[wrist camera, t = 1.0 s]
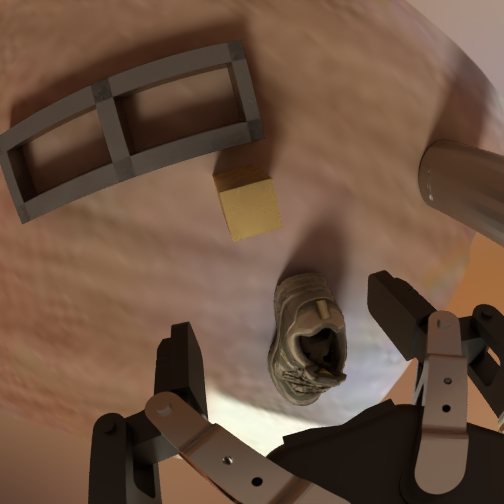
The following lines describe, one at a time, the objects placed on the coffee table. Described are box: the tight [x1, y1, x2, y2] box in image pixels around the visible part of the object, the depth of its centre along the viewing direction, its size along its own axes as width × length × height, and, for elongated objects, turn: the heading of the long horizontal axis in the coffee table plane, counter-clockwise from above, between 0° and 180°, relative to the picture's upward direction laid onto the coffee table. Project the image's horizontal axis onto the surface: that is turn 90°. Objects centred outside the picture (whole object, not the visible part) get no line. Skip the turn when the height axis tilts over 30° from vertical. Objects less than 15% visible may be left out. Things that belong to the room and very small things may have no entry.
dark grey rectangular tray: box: [0, 40, 265, 224], centre depth 23 cm, size 24×9×3 cm, turn 103°
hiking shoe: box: [267, 272, 347, 406], centre depth 35 cm, size 9×21×12 cm, turn 6°
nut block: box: [212, 164, 282, 242], centre depth 26 cm, size 4×4×7 cm
